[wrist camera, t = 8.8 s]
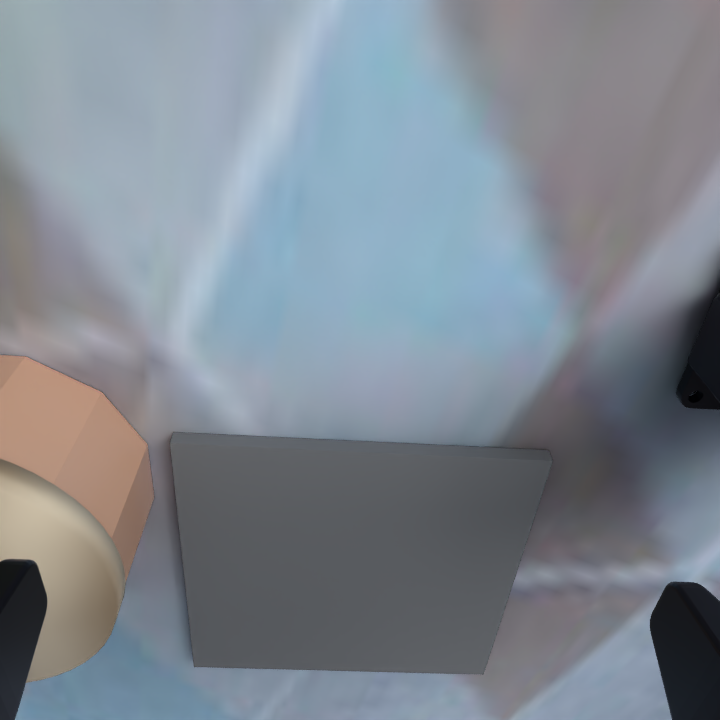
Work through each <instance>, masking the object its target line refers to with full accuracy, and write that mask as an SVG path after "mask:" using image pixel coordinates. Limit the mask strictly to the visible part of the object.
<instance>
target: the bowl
mask: <svg viewBox="0 0 720 720" xmlns="http://www.w3.org/2000/svg"><path fill="white" fill-rule="evenodd" d="M0 459H3V460H5V461H8V462H11V463H13V464H15V465H18V466H20V467H22V468H24V469H26V470H28V471H31V472H33V473H35V474H37V475H38V476H40V477H42V478H44V479H45V480H47V481H49V482H51V483H52V484H54V485H56V486H57V487H59V488H60V489H61V490H63V491H64V492H66V493H67V494H69V495H70V496H71V497H73V498H74V499H75V500H76V501H78V502H79V503H80V504H81V505H82V506H83V507H85V508H86V509H87V510H88V511H89V512H90V513H91V514H92V515H93V516H94V517H95V518H96V519H97V520H98V522H99V523H100V524H101V525H102V526H103V527H104V529H105V530H106V532H107V533H108V534H109V536H110V537H111V539H112V540H113V542H114V544H115V546H116V548H117V550H118V552H119V554H120V556H121V560H122V563H123V566H124V571H125V582H126V580H127V577H128V574H129V571H130V568H131V565H132V562H133V559H134V556H135V553H136V550H137V547H138V544H139V541H140V538H141V535H142V532H143V529H144V526H145V523H146V520H147V517H148V514H149V511H150V508H151V505H152V502H153V499H154V490H153V482H152V475H151V467H150V460H149V452H148V445H147V444H146V442H145V441H144V440H143V439H142V438H141V437H140V436H139V434H138V433H137V432H136V431H135V430H134V429H133V427H132V426H131V425H130V424H129V423H128V422H127V421H126V419H125V418H124V417H123V416H122V415H121V414H120V413H119V411H118V410H117V409H116V408H115V407H114V406H113V405H112V403H111V402H110V401H109V400H108V399H107V398H106V397H105V395H104V394H103V393H102V392H100V391H98V390H96V389H94V388H92V387H89V386H87V385H85V384H83V383H81V382H79V381H77V380H75V379H72V378H70V377H68V376H66V375H64V374H62V373H60V372H57V371H55V370H53V369H51V368H49V367H47V366H45V365H43V364H40V363H38V362H36V361H34V360H32V359H30V358H28V357H26V356H7V355H0Z"/></svg>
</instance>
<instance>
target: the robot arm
mask: <svg viewBox="0 0 720 720" xmlns="http://www.w3.org/2000/svg"><path fill="white" fill-rule="evenodd" d="M694 391H697V392H696V393H695V394H693V395H690V394H691V393H692V392H694ZM676 395H677V398H678V399H679V400H680V402H681V403H682V404H683V405H684V406H685V407H688V408H698V409H717V410H720V290H719V293H718V295H717V296H716V297H715V298H714V300H713V302H712V305H711V307H710V309H709V311H708V314H707V316H706V318H705V321H704V323H703V325H702V328H701V330H700V332H699V335H698V337H697V339H696V342H695V344H694V346H693V349H692V351H691V353H690V356H689V358H688V364H687V367H686V369H685V371H684V374H683V376H682V378H681V381H680V383H679V385H678V388H677V391H676ZM689 395H690V396H689ZM46 610H47V594H46V591H45V588H44V584H43V581H42V578H41V574H40V571H39V568H38V565H37V563H36V562H35V561H33V560H30V559H5V560H2V561H1V562H0V720H15V717H16V714H17V711H18V708H19V704H20V701H21V698H22V694H23V691H24V687H25V684H26V680H27V677H28V673H29V670H30V667H31V663H32V660H33V656H34V653H35V649H36V646H37V642H38V639H39V636H40V632H41V629H42V625H43V622H44V618H45V615H46ZM650 631H651V636H652V640H653V644H654V648H655V652H656V656H657V660H658V664H659V668H660V672H661V676H662V680H663V684H664V688H665V692H666V697H667V701H668V705H669V709H670V713H671V717H672V720H720V601H719V600H718V599H717V598H716V597H715V596H713V595H712V594H711V593H710V592H709V591H708V590H707V589H706V588H704V587H703V586H701V585H700V584H698V583H693V582H671V583H669V584H668V585H667V586H666V587H665V589H664V591H663V593H662V595H661V597H660V599H659V601H658V603H657V604H656V606H655V608H654V610H653V612H652V615H651V619H650Z"/></svg>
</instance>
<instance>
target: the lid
mask: <svg viewBox="0 0 720 720" xmlns="http://www.w3.org/2000/svg"><path fill="white" fill-rule="evenodd" d="M5 559H30V560H33V561H35V562H36V563H37V565H38V568H39V571H40V574H41V578H42V581H43V584H44V588H45V591H46V594H47V610H46V615H45V618H44V622H43V625H42V629H41V632H40V636H39V639H38V642H37V646H36V649H35V653H34V656H33V660H32V663H31V667H30V670H29V673H28V677H27V680H26V683H27V682H32V681H38V680H42V679H46V678H50V677H53V676H57V675H59V674H62V673H64V672H67V671H69V670H72V669H74V668H75V667H77V666H79V665H81V664H83V663H84V662H86V661H87V660H88V659H90V658H91V657H92V656H94V655H95V654H96V653H97V652H98V651H99V650H100V649H101V648H102V647H103V646H104V644H105V643H106V641H107V640H108V638H109V636H110V635H111V633H112V630H113V627H114V624H115V621H116V618H117V615H118V612H119V609H120V606H121V603H122V600H123V597H124V592H125V584H126V582H125V571H124V566H123V563H122V560H121V556H120V554H119V552H118V550H117V548H116V546H115V544H114V542H113V540H112V539H111V537H110V536H109V534H108V533H107V532H106V530H105V529H104V527H103V526H102V525H101V524H100V523H99V522H98V520H97V519H96V518H95V517H94V516H93V515H92V514H91V513H90V512H89V511H88V510H87V509H86V508H85V507H83V506H82V505H81V504H80V503H79V502H78V501H76V500H75V499H74V498H73V497H71V496H70V495H69V494H67V493H66V492H64V491H63V490H61V489H60V488H59V487H57V486H56V485H54V484H52V483H51V482H49V481H47V480H45V479H44V478H42V477H40V476H38V475H37V474H35V473H33V472H31V471H28V470H26V469H24V468H22V467H20V466H18V465H15V464H13V463H11V462H8V461H5V460H3V459H0V562H1V561H2V560H5Z"/></svg>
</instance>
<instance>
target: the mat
mask: <svg viewBox="0 0 720 720" xmlns="http://www.w3.org/2000/svg"><path fill="white" fill-rule="evenodd" d="M170 450H171V459H172V468H173V477H174V487H175V496H176V505H177V514H178V524H179V533H180V542H181V552H182V561H183V570H184V579H185V589H186V598H187V607H188V617H189V626H190V635H191V644H192V654H193V663H194V667H217V668H255V669H292V670H330V671H368V672H406V673H444V674H482V675H483V674H484V671H485V668H486V665H487V662H488V659H489V656H490V653H491V650H492V647H493V644H494V641H495V637H496V634H497V631H498V628H499V625H500V622H501V619H502V616H503V613H504V610H505V607H506V604H507V601H508V598H509V595H510V591H511V588H512V585H513V582H514V579H515V576H516V573H517V570H518V567H519V564H520V561H521V558H522V555H523V552H524V549H525V545H526V542H527V539H528V536H529V533H530V530H531V527H532V524H533V521H534V518H535V515H536V512H537V509H538V506H539V502H540V499H541V496H542V493H543V490H544V487H545V484H546V481H547V478H548V475H549V472H550V469H551V466H552V463H553V460H552V457H551V455H550V452H549V450H534V449H513V448H492V447H472V446H451V445H430V444H409V443H388V442H367V441H346V440H326V439H305V438H284V437H263V436H242V435H221V434H200V433H179V432H173V435H172V438H171V441H170Z"/></svg>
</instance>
